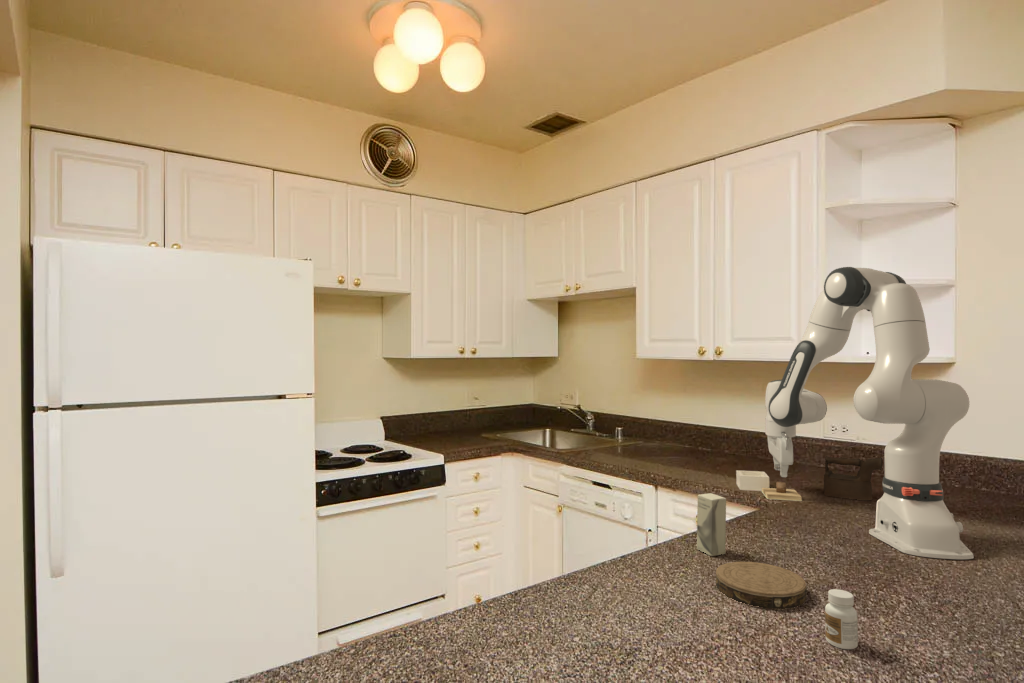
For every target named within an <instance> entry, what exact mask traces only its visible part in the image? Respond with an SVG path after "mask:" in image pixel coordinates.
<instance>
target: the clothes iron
mask: <svg viewBox="0 0 1024 683" xmlns="http://www.w3.org/2000/svg"><path fill="white" fill-rule="evenodd" d="M824 462H825V463H824V464H825V465H824V466H825V467H824V474H823V495H824V496H827V497H828V496H829V497H834V498H835V497H836V498H842V499H843V498H844V499H850V500H851V499H857V500H856V501H872V500H873V489H872V488H873V487H872V481H871V480H872V475H873V472H874V471H877V470H878V471H882V469H883V465H884V464H883V458H882V457H875V458H873V457H872V458H868V459H865V460H862V459H860V458H848V457H841V456H839V457H833V456H828V455H827V456H824ZM829 464H835V465H840V466H855V467H859V469H858V471H857V475H856V476H855V475H852V474H851V475H849V474H844V473H835V472H833V471H832V470H830V469H829Z"/></svg>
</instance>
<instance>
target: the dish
mask: <svg viewBox="0 0 1024 683" xmlns="http://www.w3.org/2000/svg"><path fill="white" fill-rule="evenodd" d="M735 475H736V477H735V478H736V486H737V488H738V489H739V491H756V492H762V488H770V476H769V475H768V474H767V473H766V472H765V471H758V470H737V469H736V470H735Z"/></svg>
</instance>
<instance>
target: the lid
mask: <svg viewBox="0 0 1024 683" xmlns="http://www.w3.org/2000/svg"><path fill="white" fill-rule="evenodd" d="M775 485H776V488H775V487H774V488H773V487H771V488H770V487H769V488H762V491H761V493H762V492H763V493H764V494H765V495H764V494H763V493H762V494H763V495H764V497H765V496H766V497H767V498H768V499H767V498H766V497H765V498H766V499H767V500H777V499H782V500H781V501H794V500H800V501H799V502H802V501H803V496H801V494H799V493H798V492H797V490H795V488H794V489H791V488H787V482H785V481H776V483H775Z"/></svg>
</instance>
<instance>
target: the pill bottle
mask: <svg viewBox="0 0 1024 683" xmlns="http://www.w3.org/2000/svg"><path fill="white" fill-rule="evenodd" d="M827 596H828V598H827V599H828V603H827V604H826V605H825V607H824V612H825V613H824V615H825V616H824V623H825V625H824V628H825V640H826V641H827V643H828V644H830V645H832V646H834V647H836V648H838V649H842V650H853V649H856V648H857V647H858V645H859V641H858V640H859V638H858V637H859V635H858V634H859V632H858V628H859V627H858V612H857V610H856V609H855V608H854V607H853V606H854V603H855V600H854V599H855V598H854V594H852V593H851V592H849V591H846V590H843V589H834V588H832V589H829V590H828V592H827Z"/></svg>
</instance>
